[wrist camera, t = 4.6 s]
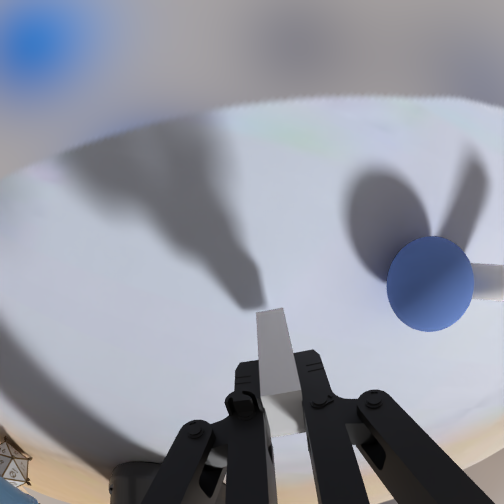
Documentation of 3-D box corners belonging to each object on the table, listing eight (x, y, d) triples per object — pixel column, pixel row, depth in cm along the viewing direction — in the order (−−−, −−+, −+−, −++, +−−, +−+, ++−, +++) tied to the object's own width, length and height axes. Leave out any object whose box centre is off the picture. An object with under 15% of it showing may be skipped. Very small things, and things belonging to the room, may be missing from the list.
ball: (468, 309, 16) (395, 320, 19) (460, 228, 16) (384, 242, 19) (483, 337, 11) (386, 351, 14) (476, 229, 11) (374, 248, 14)
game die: (19, 431, 30) (-26, 444, 21) (19, 431, 25) (-35, 445, 17) (45, 479, 27) (0, 493, 19) (49, 487, 23) (-3, 503, 15)
